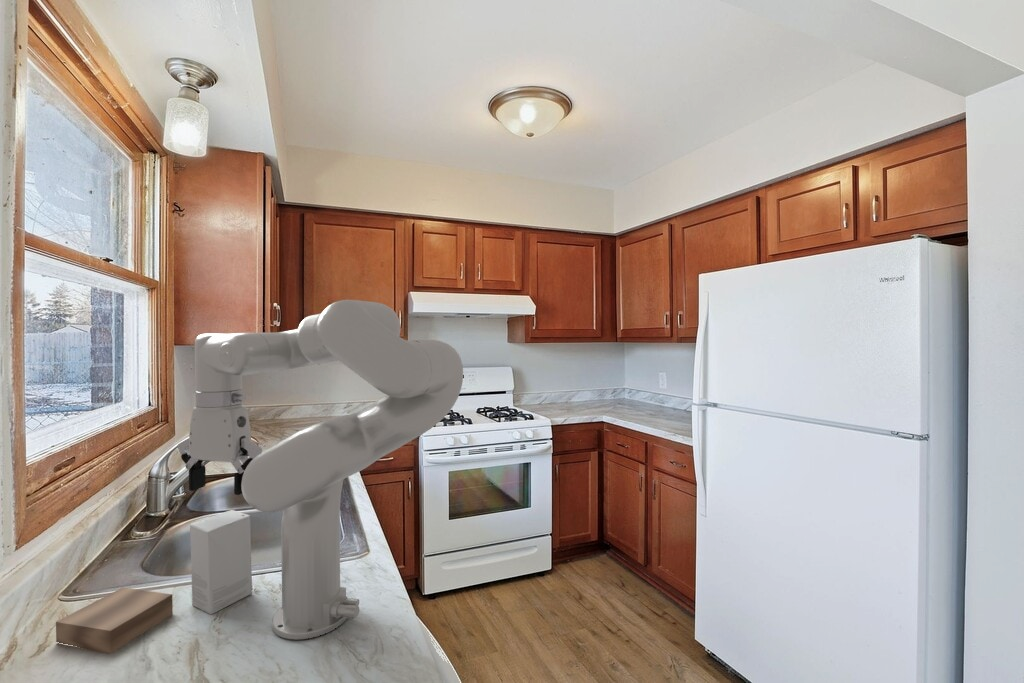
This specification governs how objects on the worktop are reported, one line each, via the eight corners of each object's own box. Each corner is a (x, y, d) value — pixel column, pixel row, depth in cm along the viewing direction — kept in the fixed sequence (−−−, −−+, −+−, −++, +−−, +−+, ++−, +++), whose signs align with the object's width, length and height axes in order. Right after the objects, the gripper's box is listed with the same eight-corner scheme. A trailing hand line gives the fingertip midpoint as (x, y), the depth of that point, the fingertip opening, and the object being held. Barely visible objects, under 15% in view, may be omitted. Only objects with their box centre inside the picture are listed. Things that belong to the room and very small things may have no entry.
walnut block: (172, 616, 88) (172, 594, 88) (110, 655, 78) (110, 630, 78) (123, 608, 91) (122, 587, 91) (56, 646, 80) (55, 621, 80)
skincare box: (234, 585, 98) (233, 508, 98) (254, 594, 95) (253, 514, 94) (189, 606, 91) (188, 522, 90) (209, 616, 88) (208, 529, 87)
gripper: (273, 398, 94) (273, 487, 94) (196, 395, 97) (196, 481, 98) (244, 404, 87) (245, 501, 87) (162, 400, 90) (162, 493, 90)
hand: (219, 490), depth 92 cm, fingers open, 9 cm apart
